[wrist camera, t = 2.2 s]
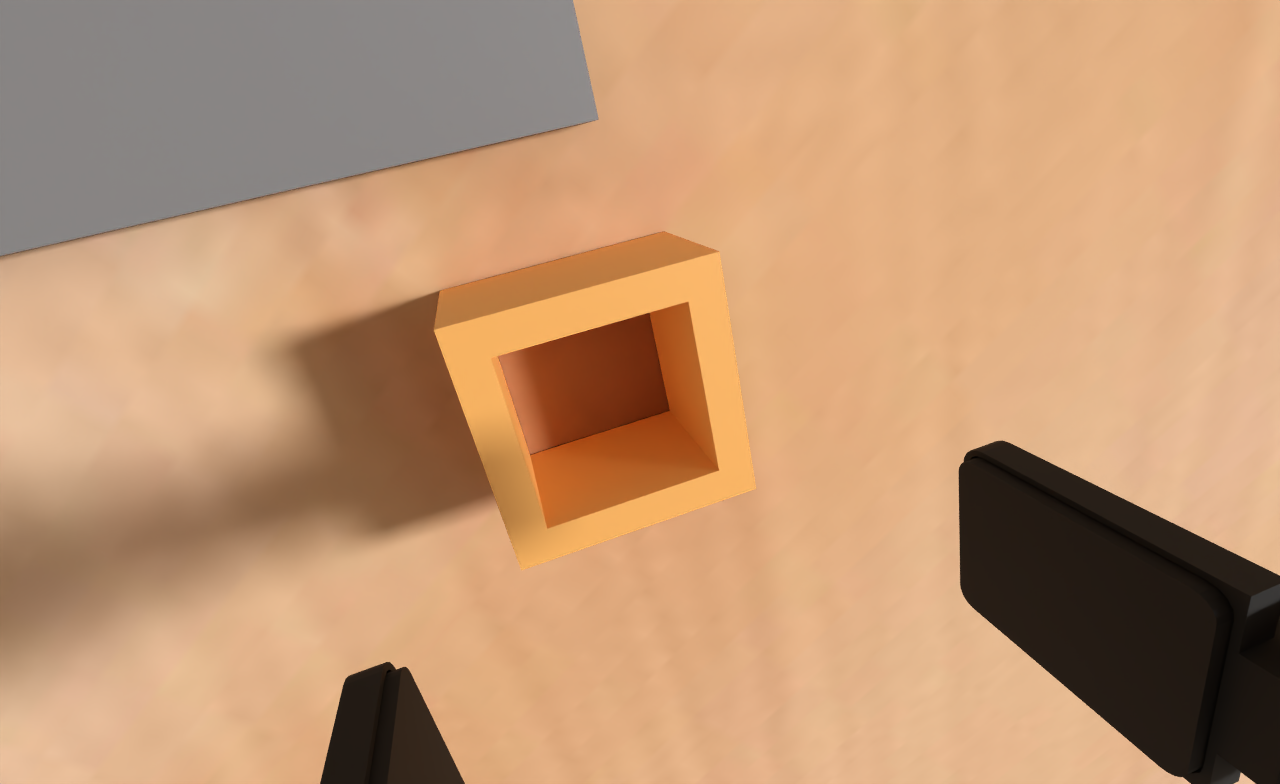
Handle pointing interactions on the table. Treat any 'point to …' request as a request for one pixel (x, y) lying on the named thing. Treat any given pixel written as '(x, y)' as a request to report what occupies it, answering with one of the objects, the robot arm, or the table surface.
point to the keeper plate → (258, 98)
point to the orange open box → (624, 456)
